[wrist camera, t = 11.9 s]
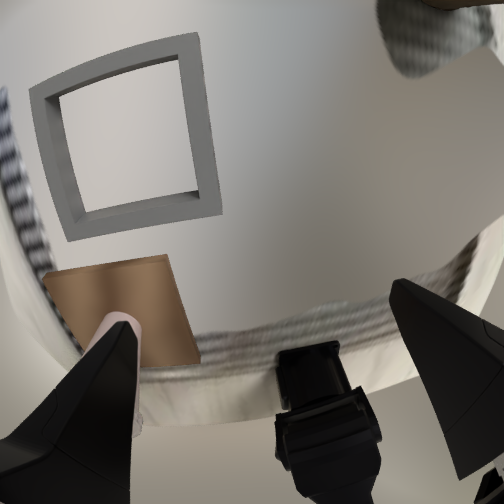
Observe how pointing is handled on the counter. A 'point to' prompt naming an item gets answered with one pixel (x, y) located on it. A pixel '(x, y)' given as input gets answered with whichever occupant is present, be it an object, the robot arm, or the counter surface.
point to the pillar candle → (459, 3)
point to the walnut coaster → (128, 306)
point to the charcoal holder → (58, 156)
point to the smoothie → (121, 316)
